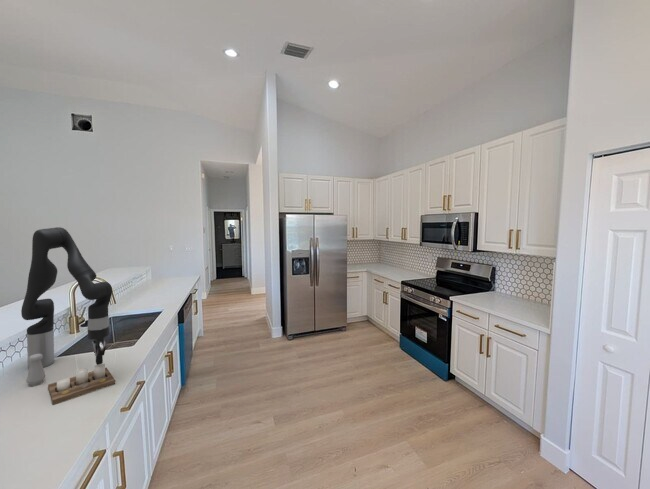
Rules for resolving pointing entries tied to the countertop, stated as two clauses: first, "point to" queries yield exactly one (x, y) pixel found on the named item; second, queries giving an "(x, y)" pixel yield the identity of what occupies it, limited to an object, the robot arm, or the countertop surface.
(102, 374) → the button
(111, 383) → the board
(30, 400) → the countertop surface
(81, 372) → the button
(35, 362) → the salt shaker
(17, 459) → the countertop surface
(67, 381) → the white domed cylinder
